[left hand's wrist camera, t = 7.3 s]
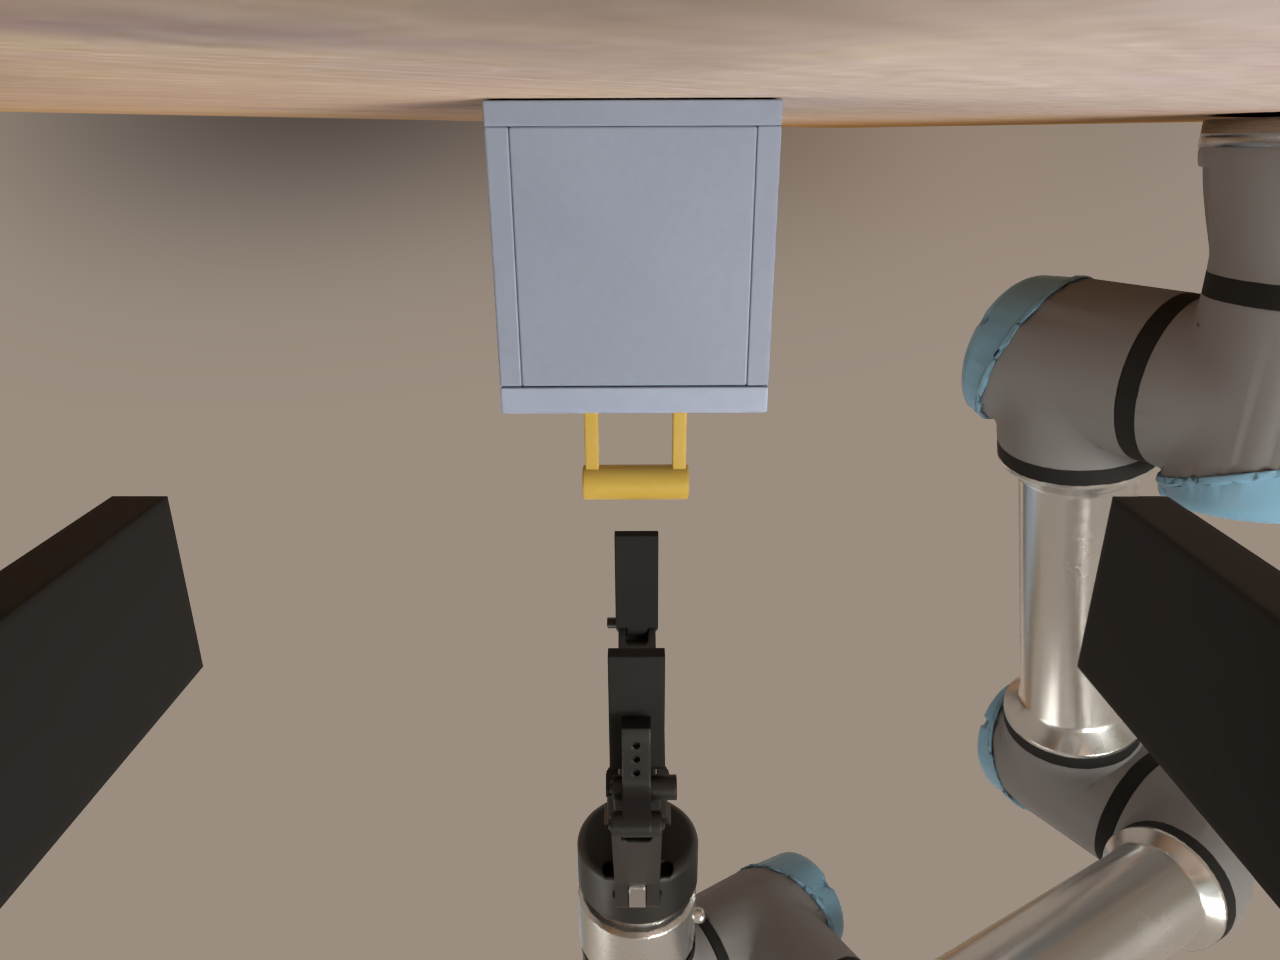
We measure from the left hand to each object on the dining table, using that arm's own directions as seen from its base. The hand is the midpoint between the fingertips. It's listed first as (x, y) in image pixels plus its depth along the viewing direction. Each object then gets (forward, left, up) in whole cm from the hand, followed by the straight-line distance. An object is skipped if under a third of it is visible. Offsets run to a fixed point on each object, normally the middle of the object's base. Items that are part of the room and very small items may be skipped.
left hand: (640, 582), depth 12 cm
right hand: (+26, -18, +17) cm, 36 cm away
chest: (+22, -15, -7) cm, 28 cm away
